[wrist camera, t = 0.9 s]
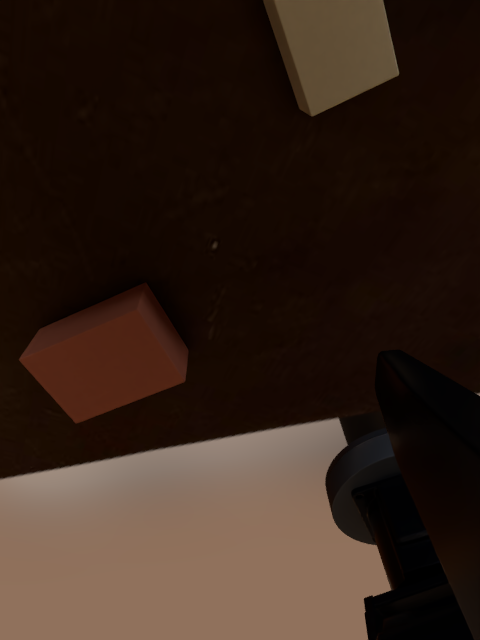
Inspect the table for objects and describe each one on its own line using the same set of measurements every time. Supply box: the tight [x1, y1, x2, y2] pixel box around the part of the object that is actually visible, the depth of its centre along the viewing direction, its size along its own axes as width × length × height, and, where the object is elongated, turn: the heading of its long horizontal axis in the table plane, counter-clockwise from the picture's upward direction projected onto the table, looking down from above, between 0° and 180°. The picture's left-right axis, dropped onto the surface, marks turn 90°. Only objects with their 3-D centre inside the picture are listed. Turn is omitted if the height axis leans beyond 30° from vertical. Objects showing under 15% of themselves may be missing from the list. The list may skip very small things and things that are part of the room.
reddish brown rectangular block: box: [19, 283, 189, 423], centre depth 24 cm, size 7×5×3 cm
